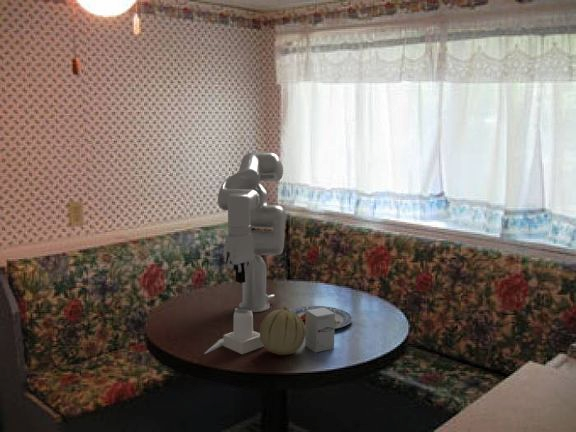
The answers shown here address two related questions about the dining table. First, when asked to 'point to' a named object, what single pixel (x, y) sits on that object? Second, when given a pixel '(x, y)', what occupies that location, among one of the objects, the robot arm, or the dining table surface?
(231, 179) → the robot arm
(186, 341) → the dining table surface
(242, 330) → the can
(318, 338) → the supplement box
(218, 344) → the white long tapered piece
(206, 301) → the dining table surface
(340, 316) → the ceramic plate
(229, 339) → the can holder
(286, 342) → the cantaloupe
